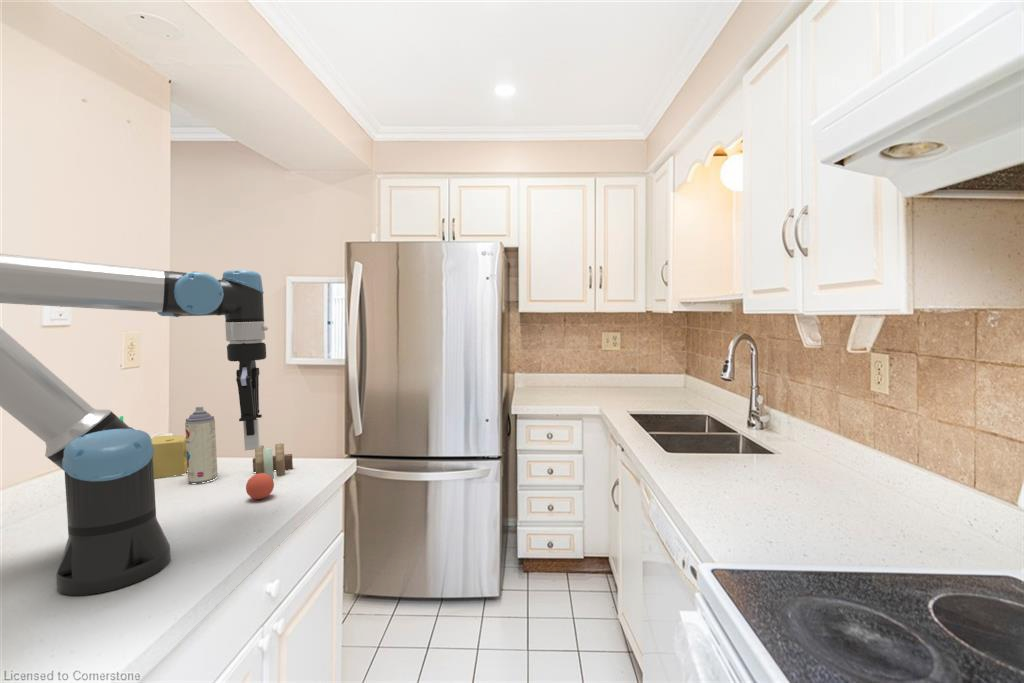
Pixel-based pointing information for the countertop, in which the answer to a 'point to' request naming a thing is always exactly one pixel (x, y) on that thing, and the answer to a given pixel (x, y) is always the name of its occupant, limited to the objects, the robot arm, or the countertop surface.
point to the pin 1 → (259, 460)
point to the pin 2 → (280, 459)
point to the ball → (259, 486)
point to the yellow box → (169, 456)
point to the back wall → (287, 462)
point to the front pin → (268, 461)
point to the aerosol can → (201, 446)
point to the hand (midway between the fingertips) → (252, 448)
